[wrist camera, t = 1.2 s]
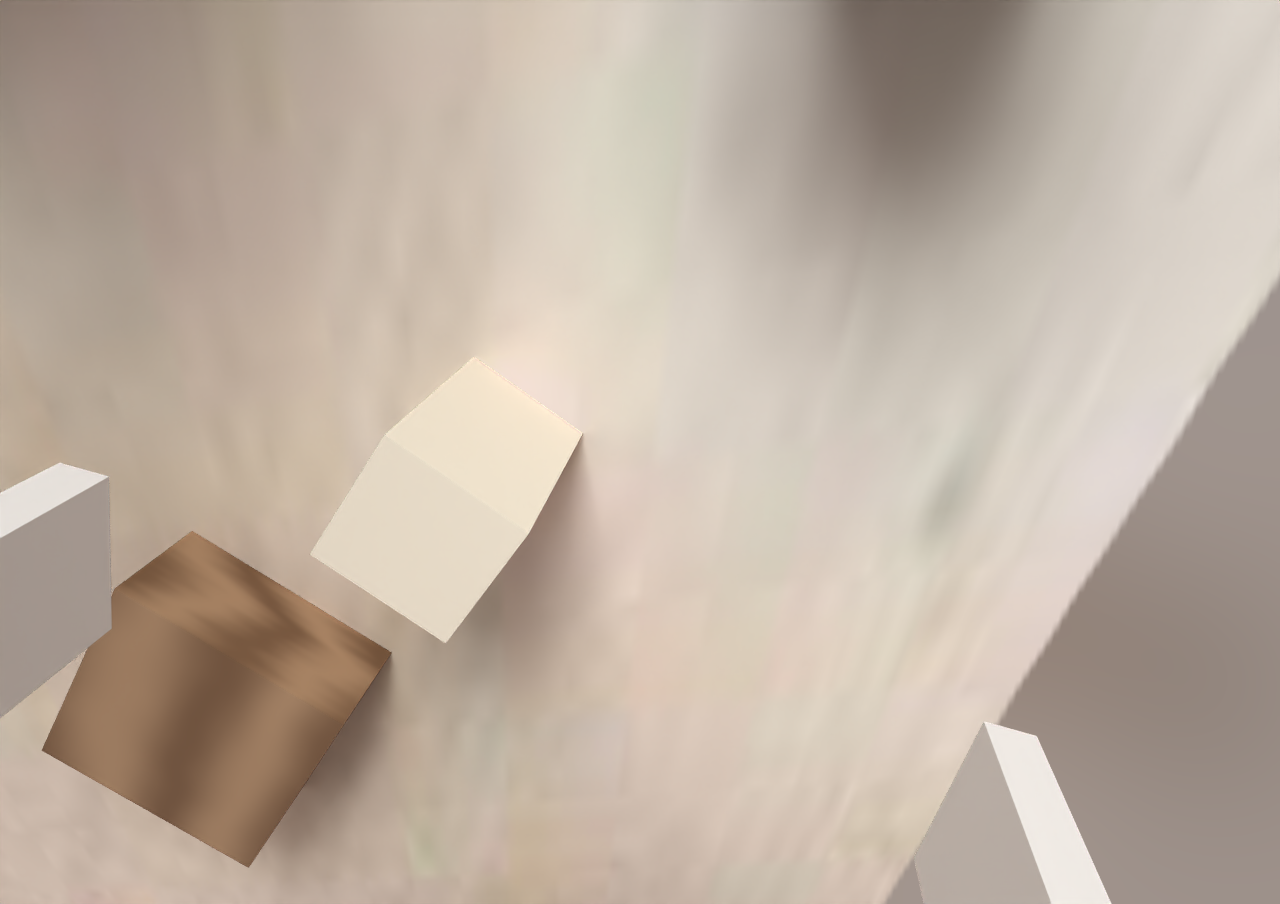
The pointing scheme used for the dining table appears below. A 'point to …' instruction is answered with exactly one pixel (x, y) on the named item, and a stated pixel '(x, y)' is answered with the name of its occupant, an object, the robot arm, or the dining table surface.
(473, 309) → the dining table surface
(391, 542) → the cream block
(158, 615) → the walnut block
